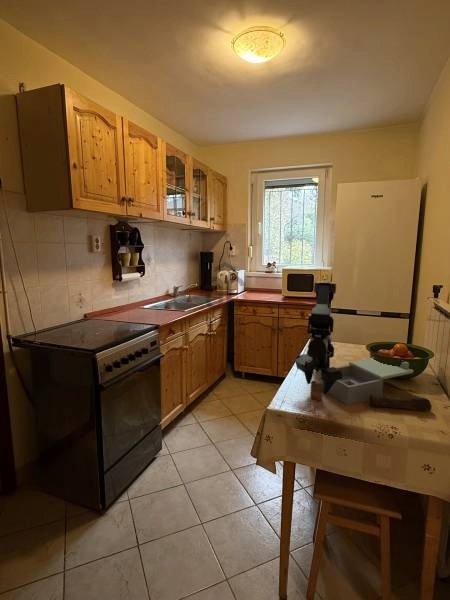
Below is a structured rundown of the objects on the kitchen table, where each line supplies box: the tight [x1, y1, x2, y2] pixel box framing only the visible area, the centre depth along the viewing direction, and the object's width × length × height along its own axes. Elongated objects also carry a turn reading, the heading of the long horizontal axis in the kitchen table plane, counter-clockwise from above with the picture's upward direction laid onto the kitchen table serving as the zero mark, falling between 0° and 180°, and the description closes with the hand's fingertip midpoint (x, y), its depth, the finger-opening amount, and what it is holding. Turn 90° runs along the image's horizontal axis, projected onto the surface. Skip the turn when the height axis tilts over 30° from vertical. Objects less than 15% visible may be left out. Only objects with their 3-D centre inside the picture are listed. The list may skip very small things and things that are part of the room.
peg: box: [310, 380, 323, 402], centre depth 114 cm, size 4×4×6 cm
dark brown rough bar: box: [369, 395, 432, 413], centre depth 107 cm, size 19×4×5 cm, turn 75°
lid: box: [348, 357, 414, 380], centre depth 124 cm, size 16×16×3 cm
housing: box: [317, 364, 384, 406], centre depth 119 cm, size 16×16×6 cm
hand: (316, 389), depth 114 cm, fingers open, 9 cm apart
